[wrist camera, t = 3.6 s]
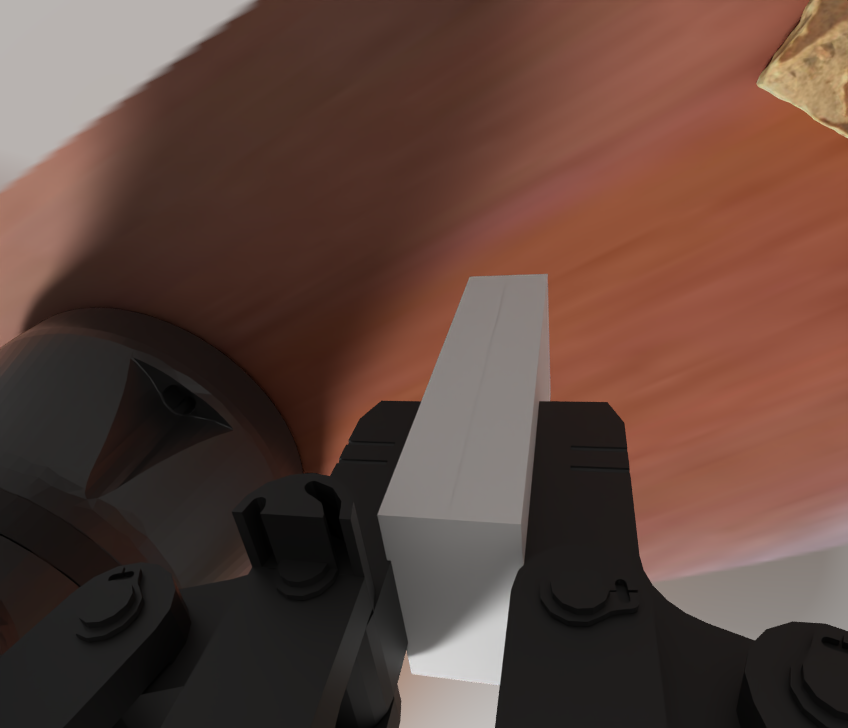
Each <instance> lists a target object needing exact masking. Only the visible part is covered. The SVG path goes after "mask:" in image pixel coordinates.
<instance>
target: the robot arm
mask: <svg viewBox="0 0 848 728" xmlns="http://www.w3.org/2000/svg"><path fill="white" fill-rule="evenodd" d="M406 650H407V655H408V659H409V664H410V668H411V673H412V674H416V675H424V676H431V677H439V678H447V679H454V680H463V681H470V682H478V683H486V684H493V685H500V690H499V698H498V706H497V715H496V724H495V728H848V631H845V630H842V629H839V628H836V627H833V626H830V625H828V624H822V623H805V622H790V623H787V624H783V625H780V626H777V627H773V628H770V629H766V630H765V632H763V634H761V635H760V636H759V638H757V639H756V640H752V639H749V638H746V637H744V636H741V635H738V634H735V633H732V632H730V631H727V630H724V629H721V628H719V627H716V626H713V625H711V624H708V623H705V622H704V621H701V620H699V619H697V618H695V617H693V616H691V615H689V614H686V613H685V612H683V611H682V610H681V609H679V608H678V607H676V606H675V605H673V604H672V603H670V602H669V601H667V600H666V599H665V598H664V596H663V595H662V594H661V593H660V592H659V591H658V590H657V589H656V588H655V587H654V586H653V585H652V583H651V582H650V580H649V578H648V577H647V575H646V573H645V572H644V570H643V567H642V563H641V559H640V556H639V548H638V539H637V530H636V521H635V513H634V504H633V495H632V486H631V477H630V473H629V460H628V452H627V442H626V433H625V424H624V422H623V421H622V420H621V418H620V417H619V416H618V415H617V413H616V412H615V411H614V410H613V409H612V407H611V406H610V405H609V404H608V402H559V401H550V354H549V313H548V274H532V275H504V276H475V277H470V278H469V280H468V283H467V285H466V288H465V290H464V293H463V296H462V298H461V301H460V303H459V306H458V308H457V311H456V314H455V316H454V319H453V321H452V324H451V326H450V329H449V332H448V334H447V337H446V339H445V342H444V344H443V347H442V350H441V352H440V355H439V357H438V360H437V363H436V365H435V368H434V370H433V373H432V375H431V378H430V381H429V383H428V386H427V388H426V391H425V393H424V396H423V399H422V401H421V402H419V401H381V402H379V403H378V404H377V405H376V406H375V407H373V408H372V409H371V410H370V411H369V412H367V413H366V414H365V415H364V416H363V417H362V418H360V419H359V421H358V423H357V425H356V427H355V429H354V431H353V433H352V435H351V437H350V439H349V444H348V445H346V446H345V448H344V450H343V452H342V454H341V456H340V458H339V463H337V464H336V466H335V468H334V469H333V471H332V473H331V475H330V476H326V475H321V474H316V473H306V474H303V471H302V465H301V461H300V456H299V453H298V450H297V447H296V444H295V442H294V439H293V437H292V435H291V433H290V431H289V429H288V427H287V425H286V423H285V421H284V420H283V418H282V416H281V415H280V413H279V412H278V410H277V409H276V407H275V406H274V404H273V403H272V402H271V400H270V399H269V398H268V397H267V395H266V394H265V393H264V392H263V391H262V389H261V388H260V387H259V386H258V385H257V384H256V383H255V382H254V381H253V380H252V379H251V378H250V377H249V376H248V375H247V374H246V373H245V372H244V371H243V370H242V369H241V368H240V367H239V366H238V365H236V364H235V363H234V362H233V361H231V360H230V359H229V358H228V357H227V356H225V355H224V354H222V353H221V352H220V351H218V350H217V349H216V348H214V347H213V346H211V345H209V344H208V343H206V342H205V341H203V340H202V339H200V338H198V337H196V336H195V335H193V334H191V333H189V332H187V331H185V330H183V329H181V328H179V327H177V326H174V325H172V324H170V323H168V322H165V321H162V320H160V319H157V318H154V317H151V316H147V315H144V314H140V313H136V312H132V311H127V310H120V309H112V308H82V309H76V310H70V311H66V312H63V313H60V314H57V315H54V316H52V317H50V318H48V319H46V320H44V321H42V322H40V323H39V324H37V325H36V326H34V327H32V328H31V329H29V330H27V331H26V332H24V333H23V334H21V335H19V336H18V337H16V338H14V339H13V340H11V341H10V342H8V343H7V344H5V345H4V346H3V347H1V348H0V728H399V724H400V716H401V715H400V714H401V698H400V694H399V690H398V685H397V683H398V679H399V675H400V672H401V668H402V664H403V660H404V656H405V653H406Z"/></svg>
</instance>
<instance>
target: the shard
mask: <svg viewBox="0 0 848 728" xmlns="http://www.w3.org/2000/svg"><path fill="white" fill-rule="evenodd" d="M756 84H757V85H758V87H760V88H762V89H764V90H766V91H768V92H770V93H771V94H773V95H774V96H776V97H777V98H778V99H781V100H784V101H787V102H790V103H791V104H793V105H794V106H796V107H798V108H800V109H802V110H804V111H805V112H806V113H807V114H809V115H810V116H811V117H812V118H813V119H814V120H816V121H817V122H819V123H821V124H823V125H825V126H827V127H829V128H831V129H833V130H835V131H836V132H838V133H839V134H841V135H843V136H845V137H846V138H848V0H810V1H809V3H808V4H807V6H806V7H805V9H804V11H803V14H802V17H801V20H800V23H799V24H798V25H797V26H796V28H795V29H794V30H793V31H792V32H791V34H790V35H789V36H788V38H787V39H786V40H785V42H784V44H783V45H782V46H781V47H780V48H779V49H778V51H777V52H776V53H775V54H774V56H773V58H772V60H771V62H770V64H769V65H768V67H767V68H766V69H765V70H764V71H763V72H762V73H761V75H760V76H759V78H758V80H757V83H756Z"/></svg>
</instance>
